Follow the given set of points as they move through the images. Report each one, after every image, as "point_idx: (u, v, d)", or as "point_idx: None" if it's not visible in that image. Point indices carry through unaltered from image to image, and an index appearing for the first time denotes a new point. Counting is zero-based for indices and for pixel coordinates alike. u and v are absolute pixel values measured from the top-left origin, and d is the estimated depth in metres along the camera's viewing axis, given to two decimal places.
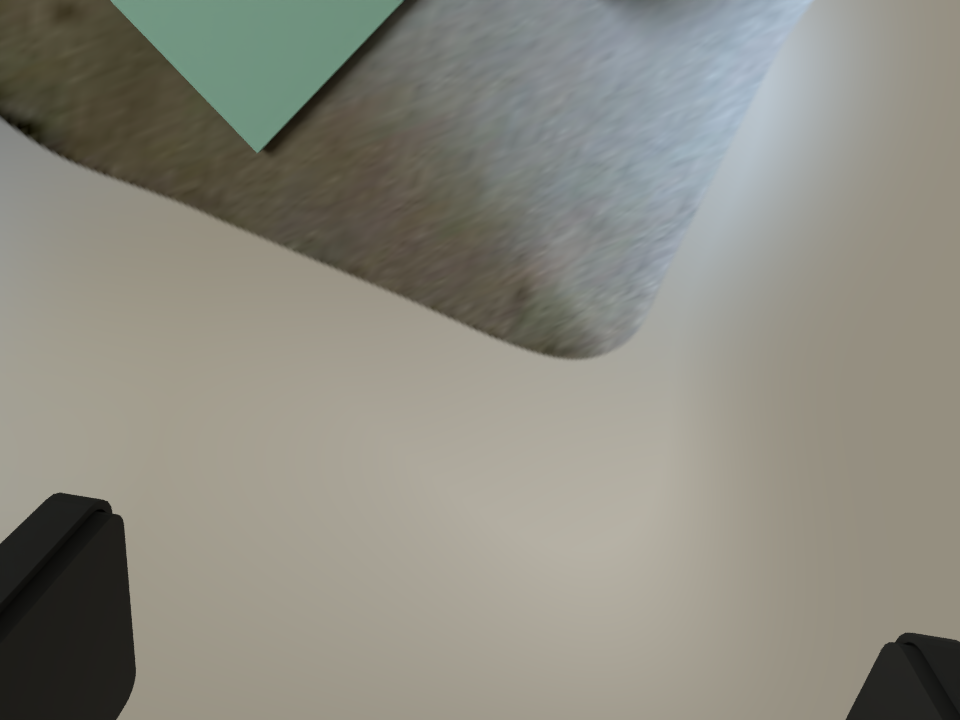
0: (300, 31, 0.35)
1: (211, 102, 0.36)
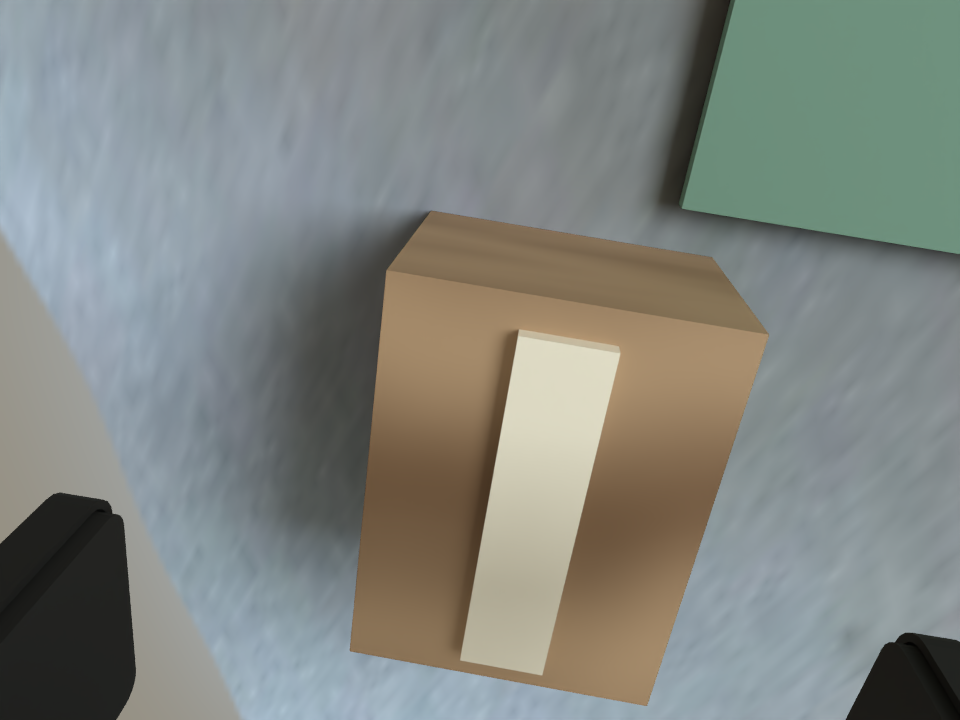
0: None
1: None
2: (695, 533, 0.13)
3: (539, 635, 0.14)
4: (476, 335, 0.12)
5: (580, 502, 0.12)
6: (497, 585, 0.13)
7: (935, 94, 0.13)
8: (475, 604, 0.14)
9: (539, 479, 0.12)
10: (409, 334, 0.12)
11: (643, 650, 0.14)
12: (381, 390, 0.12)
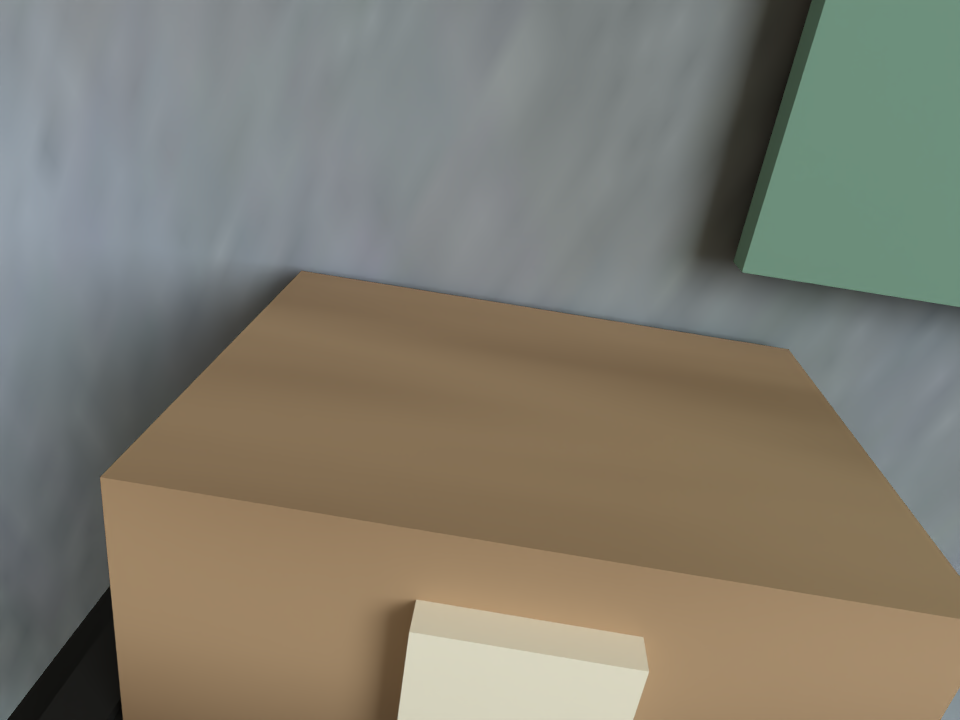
0: None
1: None
2: None
3: None
4: (322, 610, 0.05)
5: None
6: None
7: None
8: None
9: None
10: (174, 603, 0.05)
11: None
12: (134, 700, 0.06)
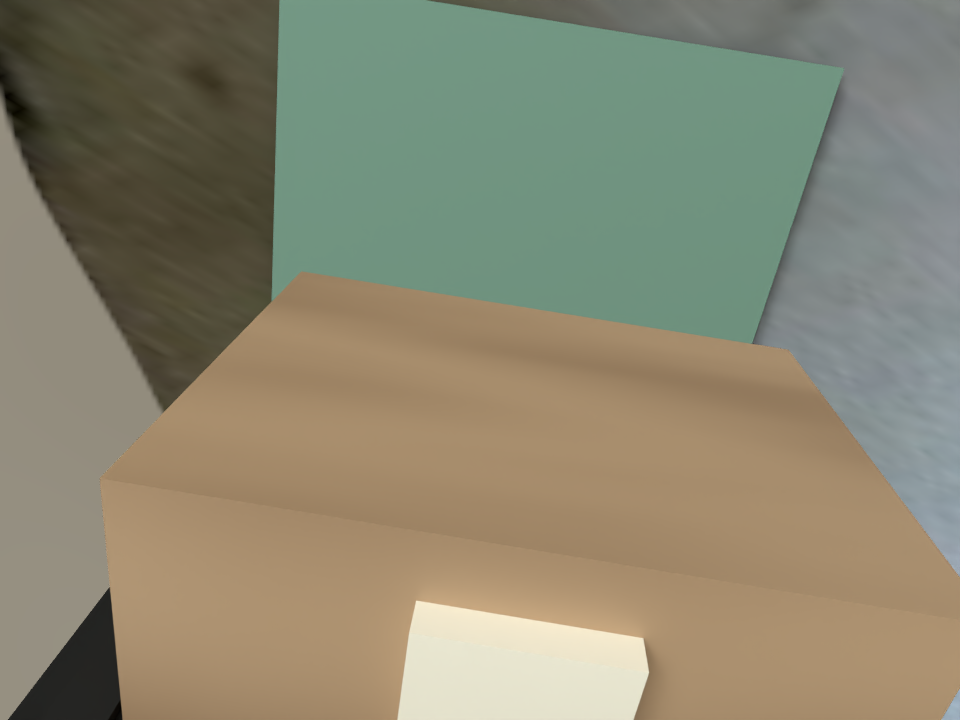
0: None
1: None
2: None
3: None
4: (322, 610, 0.05)
5: None
6: None
7: None
8: None
9: None
10: (174, 604, 0.05)
11: None
12: (134, 701, 0.06)
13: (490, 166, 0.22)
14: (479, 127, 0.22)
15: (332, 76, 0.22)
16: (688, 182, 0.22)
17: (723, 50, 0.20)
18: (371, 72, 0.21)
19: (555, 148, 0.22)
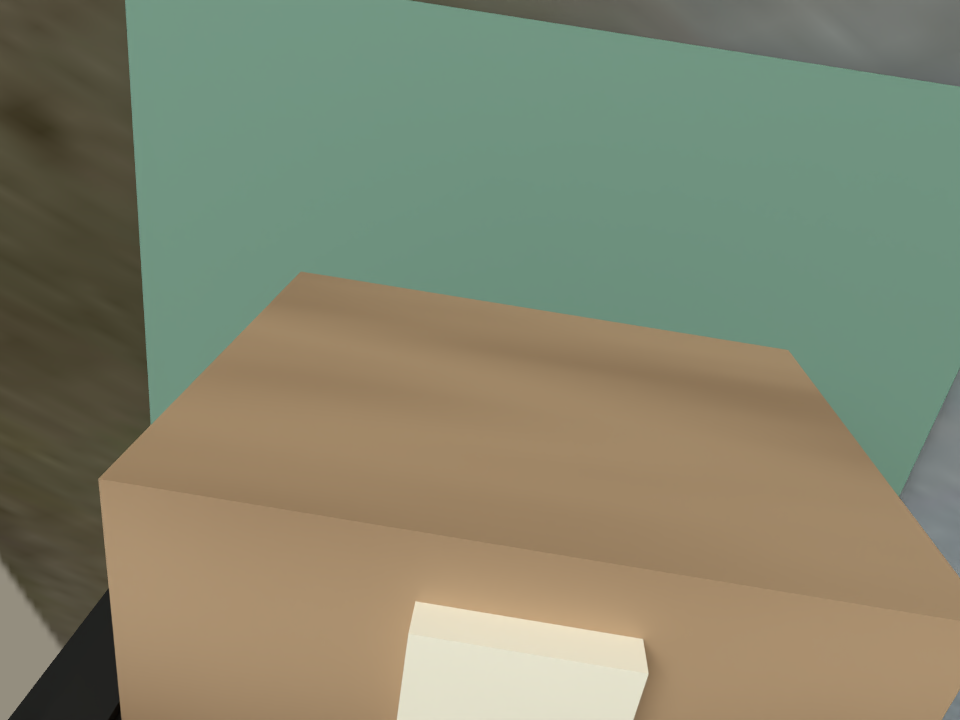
0: None
1: None
2: None
3: None
4: (320, 610, 0.05)
5: None
6: None
7: None
8: None
9: None
10: (173, 605, 0.05)
11: None
12: (133, 702, 0.06)
13: (479, 261, 0.14)
14: (460, 200, 0.13)
15: (219, 119, 0.13)
16: (801, 288, 0.14)
17: (874, 76, 0.12)
18: (281, 112, 0.13)
19: (583, 234, 0.14)
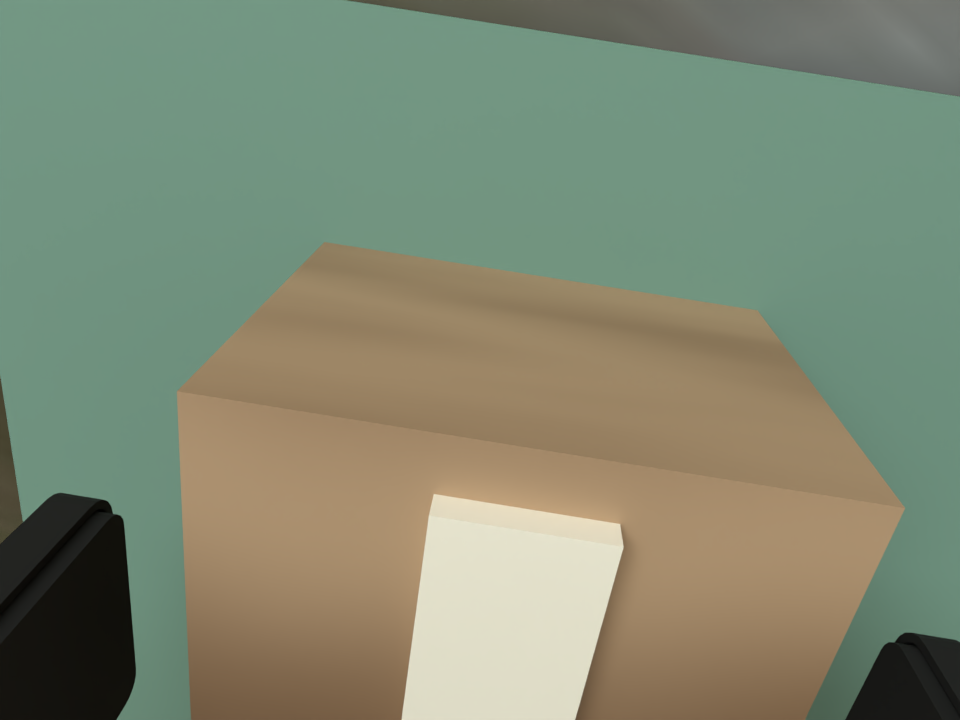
0: None
1: None
2: None
3: None
4: (356, 504, 0.06)
5: None
6: None
7: None
8: None
9: None
10: (234, 500, 0.06)
11: None
12: (196, 588, 0.07)
13: None
14: None
15: (83, 158, 0.10)
16: (859, 378, 0.10)
17: None
18: (165, 149, 0.10)
19: None
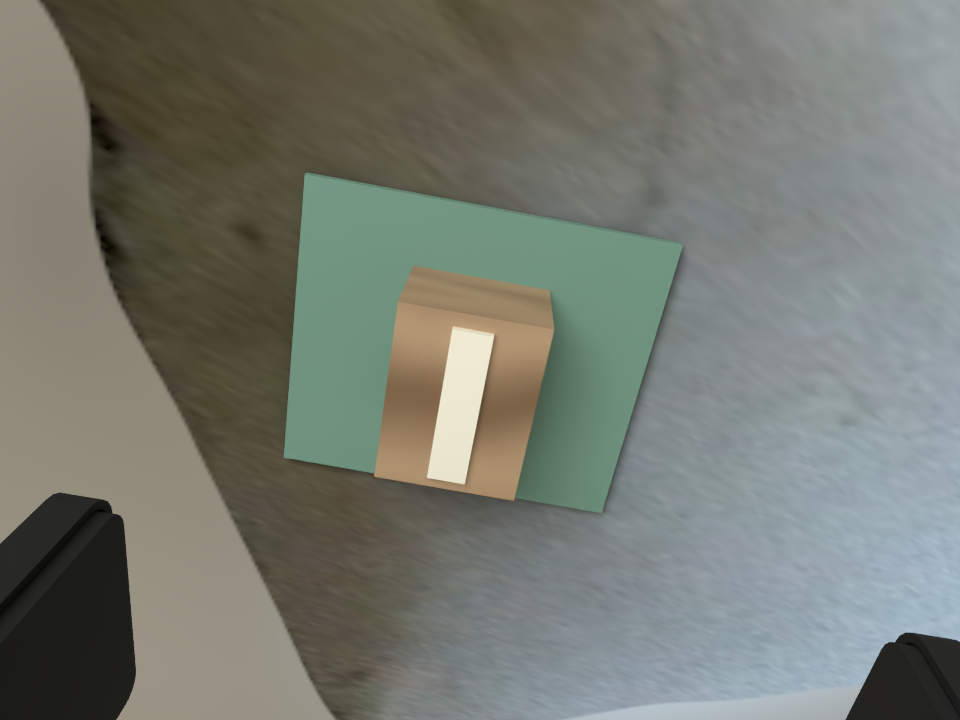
0: None
1: (290, 402, 0.35)
2: (530, 415, 0.29)
3: (463, 464, 0.30)
4: (435, 329, 0.28)
5: (479, 400, 0.29)
6: (443, 440, 0.30)
7: (565, 437, 0.35)
8: (434, 449, 0.30)
9: (461, 390, 0.29)
10: (407, 328, 0.28)
11: (510, 472, 0.31)
12: (393, 351, 0.28)
13: None
14: None
15: (338, 237, 0.31)
16: (583, 312, 0.32)
17: (603, 231, 0.31)
18: (365, 235, 0.31)
19: None
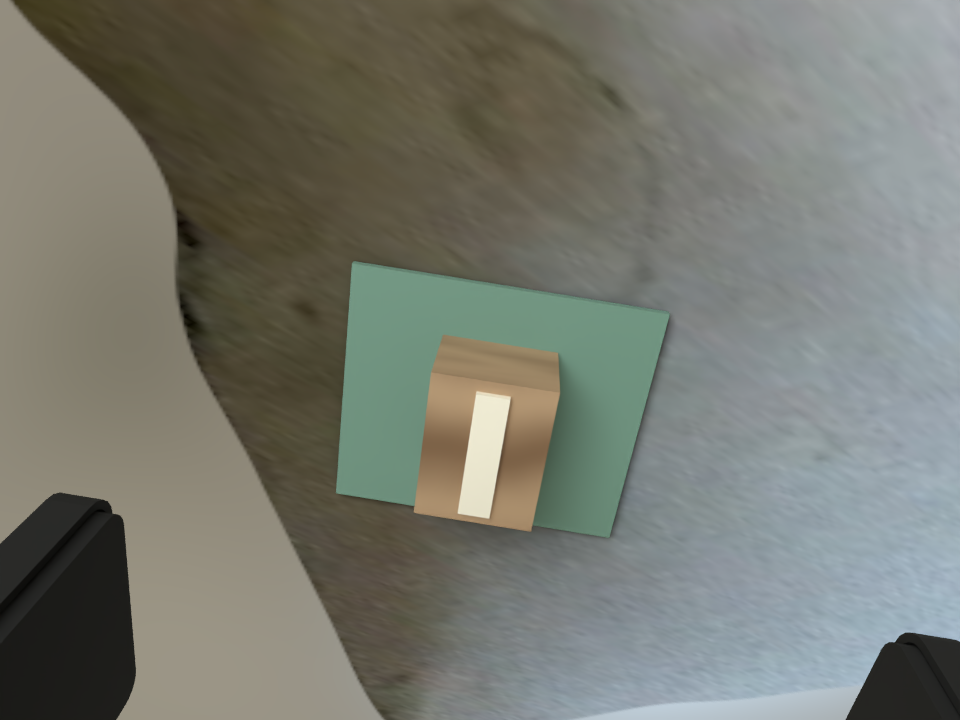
0: None
1: (341, 447, 0.41)
2: (542, 461, 0.35)
3: (487, 502, 0.36)
4: (461, 393, 0.34)
5: (499, 450, 0.35)
6: (470, 483, 0.36)
7: (575, 474, 0.41)
8: (463, 490, 0.36)
9: (485, 442, 0.35)
10: (438, 393, 0.34)
11: (527, 508, 0.36)
12: (428, 412, 0.35)
13: None
14: None
15: (380, 313, 0.38)
16: (587, 370, 0.38)
17: (601, 304, 0.36)
18: (402, 311, 0.37)
19: None
